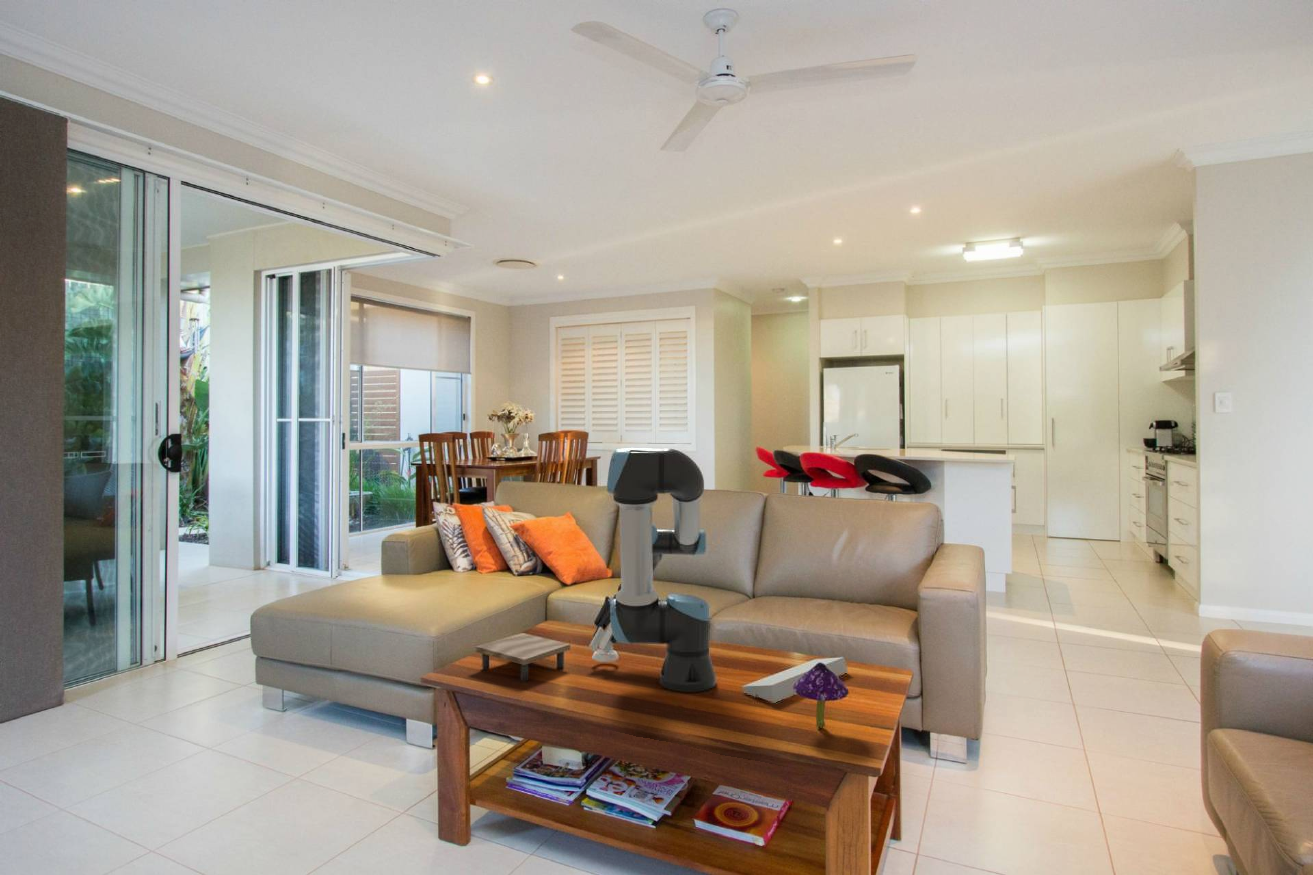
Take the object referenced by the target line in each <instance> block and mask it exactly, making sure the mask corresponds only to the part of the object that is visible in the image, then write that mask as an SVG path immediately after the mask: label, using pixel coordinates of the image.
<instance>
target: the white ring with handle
mask: <svg viewBox="0 0 1313 875" xmlns="http://www.w3.org/2000/svg"><path fill="white" fill-rule="evenodd" d="M611 630H612V628H611V622H610V623H609V625H608V626H607V627H606V629H605V631H606V632H605V634H604V636H603V638H602V640H601V642H600V644H599V646H598V648H599V649H598V650H597V649H596V651H593V654H592V657H591V659H592V660H594V661H596V662H603V663H604V662H606V663H607V662H615V661H617V660H618V659H619V655H618V652H617V651H616V650H614V645H613V646H612V648H611V650H610V651H609V653H608V654H606V653H605V652H604V651H603V650H602V647H603V645H604V643H605V642H606V640H607V638H608V636H609V634H610V632H611Z"/></svg>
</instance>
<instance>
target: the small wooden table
mask: <svg viewBox="0 0 1313 875" xmlns="http://www.w3.org/2000/svg"><path fill="white" fill-rule="evenodd" d="M569 650H571V644H570V643H567V642H563V641H560V640H559V641H558V640H554V639H549V638H546V637H541V636H537V635H532V634H528V633H525V632H521V633H517V634H515V635H512V636H507V637H504V638H500V639H497V640H494V641H491V642H486V643H482V644H480V645H476V646H475V652H476V653H479V654H481V655H482V656H481V658H482V660H481V669H482V668H483V669H488V668H489V669H490V657H494V658H498V659H500V660H505V661H508V662H511V663H516V664H518V665H520V681H521V682H527V680H528V681H529V664H531V663H534V662H537V661H540V660H542V659H546V658H550V657H553V656H555V655H556V668H557V667H558V668H557V669H563V668H564V666H565V652H567V651H569ZM562 667H563V668H562ZM489 669H488V670H489Z"/></svg>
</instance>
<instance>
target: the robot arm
mask: <svg viewBox="0 0 1313 875" xmlns="http://www.w3.org/2000/svg"><path fill="white" fill-rule="evenodd" d="M608 467H609V468H608V473H607V482H606V486H607V487H606V488H607V489H606V490H607V493H608V494H610V495H612V494H613V495H612V496H613V501H614V502H615V504H616V505H618V507H619V541H620V542H619V543H620V544H619V546H620V547H619V548H620V551H619V552H620V583H619V585H618V588H617V592H616V593H615V594H614V596H612V597H609V595H608V596H605V597H604V603H603V604H602V606H601V608H600V610H599V612H598V614H597V615H596V617H595V620H594V622H593V624H594V625H595V626H596V629H595V631H594V633H593V635H592V637H593V638H592V639H591V642H590V643H589V646H588V647H589V648H590V649H591V650H592V652H595V651H597V649H598V648H599V644H600V642H601V640H602V638H603V636H604V634H605V632H606V630H607V628H608V627H609V625H610V623H611V628H612V630H611V632H610V634H609V636H608V638H607V640H606V642H605V643H604V645H603V647H602V650H603V651H604V652H605V653H606V654H605V655H609V654H608V653H609V651H610V650H611V648H612V646H613V647H614V644H616V643H622V644H630V645H634V644H637V645H639V644H640V645H641V644H642V645H666V653H665V654H666V655H665V657H664V661H663V664H662V667H661V670H660V673H659V683H660V685H661V686H662V688H665V689H666V690H669V691H670V690H671V691H674V692H678V693H680V692H681V693H697V692H698V693H699V692H703V691H704V692H705V691H708V690H711V689H713V688H714V687H715V686H716V685H717V683H716V679H717V678H716V676H717V675H716V672H715V670H714V666H713V663H712V659H711V656H710V620H711V616H710V606H709V602H707V601H706V600H705V599H703V598H701V597H699V596H697V595H691V594H687V593H669V594H668V595H667V596H666V598H665V599H660V598H659V593H658V591H657V590H655V588H654V586H653V585H654V576H653V575H654V573H655V571H656V569H657V567H658V565H659V563H660V562H661V561H662V559H663V555H682V556H684V555H686V556H687V555H689V556H696V555H699V556H700V555H705V554H706V552H707V551H706V550H707V532H706V531H705V530H704V529H700V528H701V527H700V526H701V497H702V495H703V494H704V490H705V479H704V475H703V473H702V471H701V469H700V467H699V466H698V465H697V463H696V462H695V461H694V460H693V459H692V458H691V457H690V456H689V455H687V454H685V453H684V452H682V451H680V450H677V449H675V448H642V447H641V448H639V447H637V448H635V447H629V448H617V449H616V450H614V451H613V453H612V454H611V457H610V461H609V466H608ZM658 494H663V495H664V494H669V495H670V496H671V498H672V514H673V528H674V529H666V528H664V529H663V528H662V529H661V528H660V529H657V527H656V526H655V524H653V505H655V503H656V502H657V501H658V500H659V498H658V496H659V495H658ZM710 688H711V689H710Z"/></svg>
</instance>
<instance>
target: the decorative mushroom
mask: <svg viewBox="0 0 1313 875" xmlns="http://www.w3.org/2000/svg"><path fill="white" fill-rule="evenodd" d="M793 689H794V691H795V692H796V693H797V695H798V696H800V697H802V698H805V699H809V700H814V701H817V702H816V710H815V711H816V712H815V716H816V717H815V718H816V719H815V722H816V723H815V726H816V727H817V728H818V727H820V728H822V729H824V728H825V727H826V723H825V707H826V702H833V701H839V700H843V699H845V698H846V697H847V696H848V695H849V693H850V692H849V689H848V688H847V686H846V684H844V682H843V681H842V680H841V679H840V677H837V676H836V675H835V674H834V673H833V672H832V671H830V670H829V669H828V668H827V667H826V665H825V664H824V663H822V662H819V663H817V664H816V665H815V666H814V667H813V668H812V669H810V670H809V671H808V672H806V673H805V674H804V675H803V676H802V677H801V678H800V679H799V680H798V681H797V682H796V683H795V684H794V685H793ZM823 727H824V728H823ZM820 728H819V729H820Z"/></svg>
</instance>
